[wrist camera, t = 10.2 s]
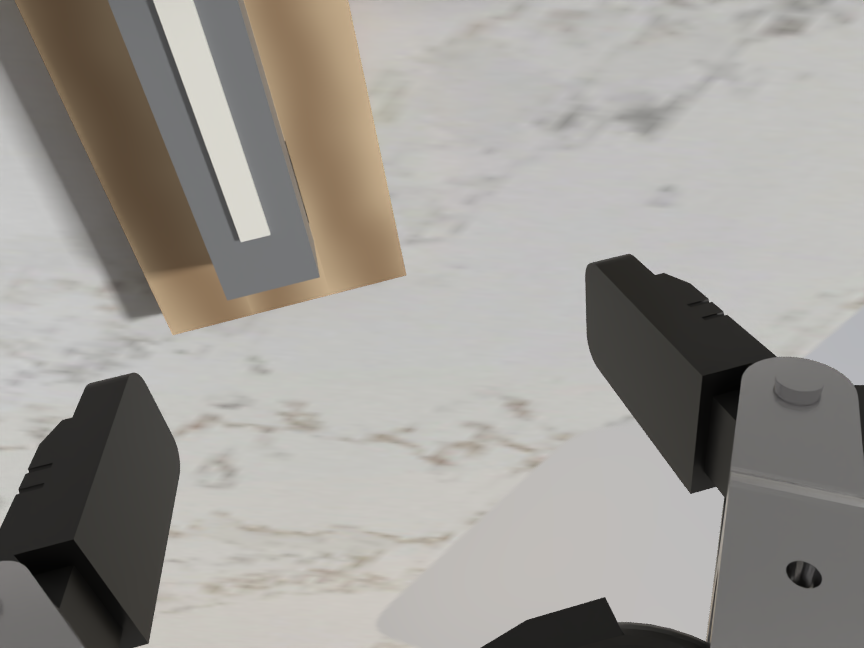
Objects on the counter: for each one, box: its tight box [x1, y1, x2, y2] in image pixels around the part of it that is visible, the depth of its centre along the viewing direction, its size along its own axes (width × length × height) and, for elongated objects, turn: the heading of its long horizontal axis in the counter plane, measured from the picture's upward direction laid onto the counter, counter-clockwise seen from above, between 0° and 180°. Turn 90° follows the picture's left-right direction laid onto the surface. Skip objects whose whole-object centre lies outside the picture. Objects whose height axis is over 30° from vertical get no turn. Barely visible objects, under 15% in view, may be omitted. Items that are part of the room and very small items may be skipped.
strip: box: [108, 0, 320, 301], centre depth 25 cm, size 4×16×7 cm, turn 9°
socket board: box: [15, 0, 406, 335], centre depth 27 cm, size 12×22×2 cm, turn 10°
